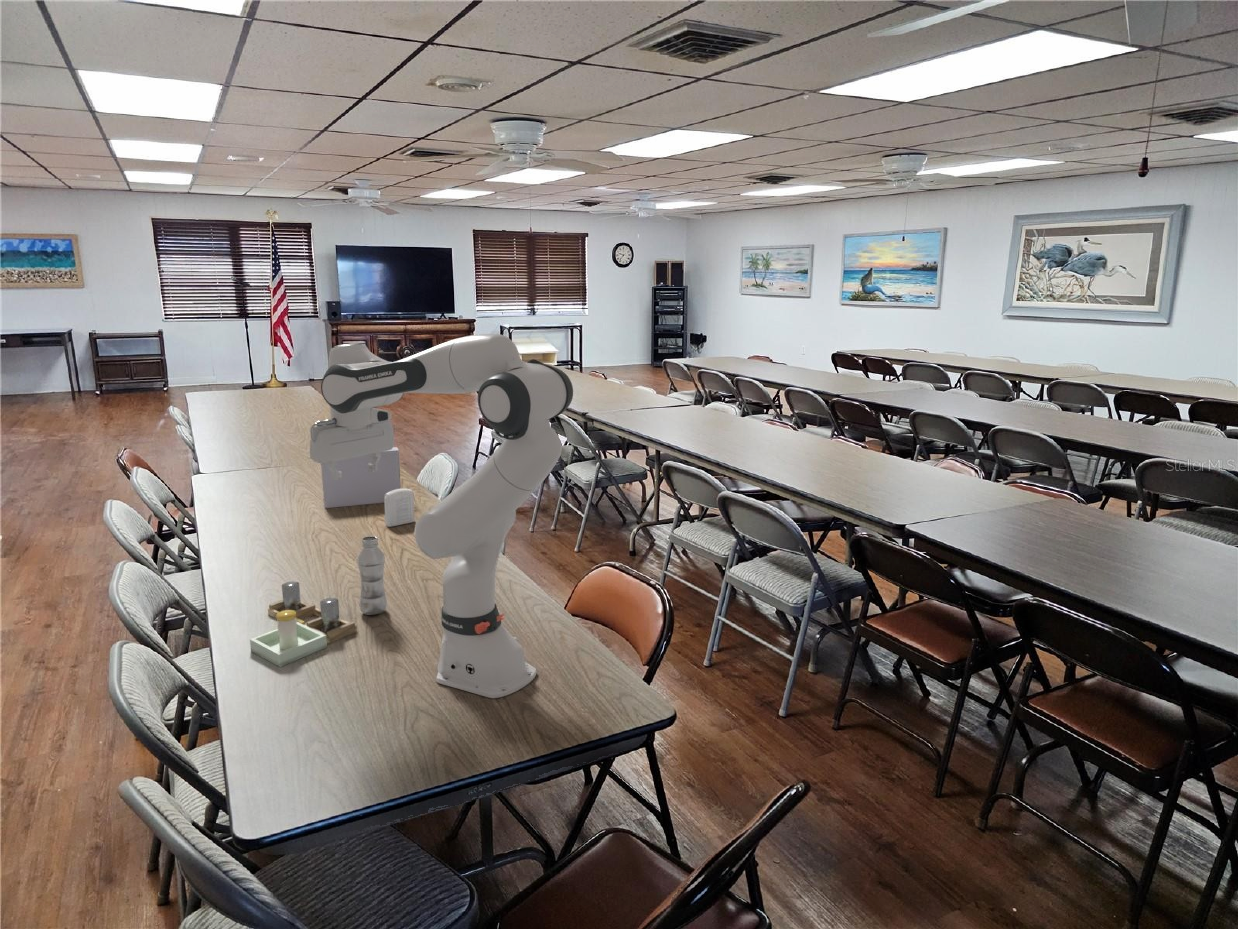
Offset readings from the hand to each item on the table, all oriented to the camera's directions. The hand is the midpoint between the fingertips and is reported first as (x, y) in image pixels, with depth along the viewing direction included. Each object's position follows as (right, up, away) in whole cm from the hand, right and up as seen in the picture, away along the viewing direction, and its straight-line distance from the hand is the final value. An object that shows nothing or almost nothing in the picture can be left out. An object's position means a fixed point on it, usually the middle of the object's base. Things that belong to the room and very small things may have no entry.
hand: (355, 475), depth 173 cm
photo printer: (-15, -18, +88) cm, 91 cm away
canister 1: (-22, -35, +18) cm, 45 cm away
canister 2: (-9, -38, +9) cm, 40 cm away
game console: (-36, -12, +110) cm, 116 cm away
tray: (-15, -40, 0) cm, 43 cm away
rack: (-15, -37, +13) cm, 42 cm away
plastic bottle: (-2, -36, +20) cm, 41 cm away
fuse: (-15, -39, 0) cm, 42 cm away
